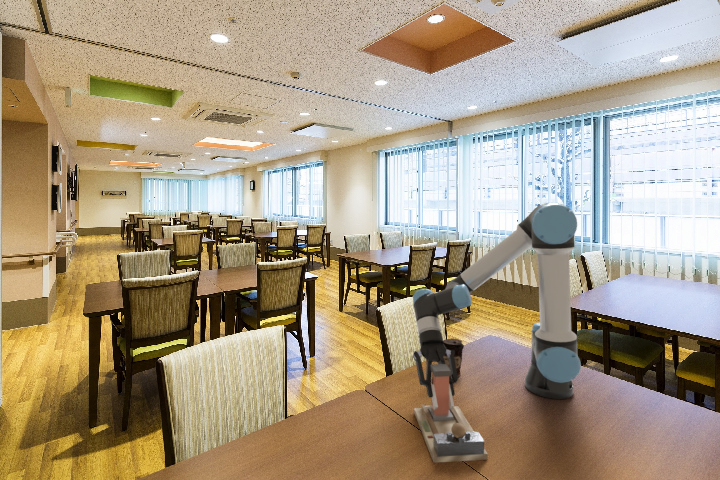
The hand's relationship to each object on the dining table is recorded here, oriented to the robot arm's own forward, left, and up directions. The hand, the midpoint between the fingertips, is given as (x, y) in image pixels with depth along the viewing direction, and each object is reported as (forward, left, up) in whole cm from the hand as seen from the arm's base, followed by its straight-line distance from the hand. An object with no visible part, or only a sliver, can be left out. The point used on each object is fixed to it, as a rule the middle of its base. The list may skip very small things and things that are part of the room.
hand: (443, 407), depth 110 cm
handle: (+1, -4, -4) cm, 6 cm away
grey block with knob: (0, +13, -4) cm, 14 cm away
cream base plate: (0, +3, -6) cm, 7 cm away
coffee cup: (-13, -33, -6) cm, 36 cm away
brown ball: (0, +13, -1) cm, 13 cm away
